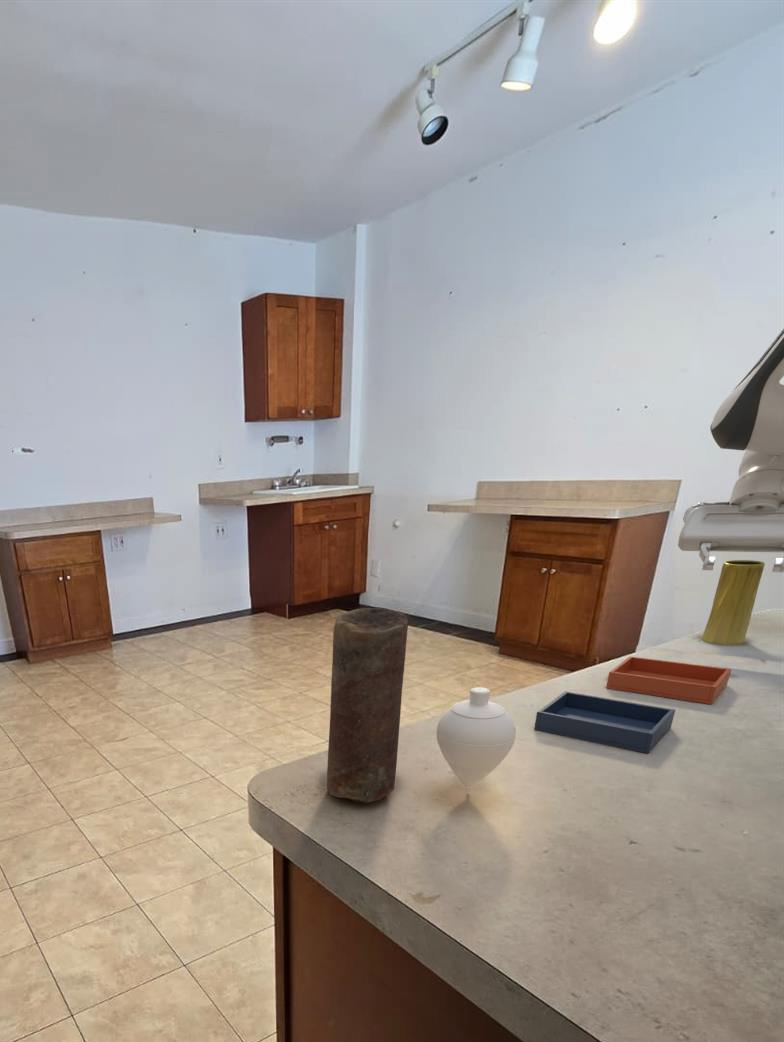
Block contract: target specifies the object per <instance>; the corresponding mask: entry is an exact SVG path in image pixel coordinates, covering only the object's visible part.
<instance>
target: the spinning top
mask: <svg viewBox="0 0 784 1042" xmlns="http://www.w3.org/2000/svg"><path fill="white" fill-rule="evenodd" d="M490 696H491V690H490V689H489V688H486V687H481V686H477V687H472V688H470V690H469V699H466V700H462V701H459V702H456V703H454V704H453V705H451V707H450V708H449V709H447V710H446V711H445V712H444V713H443V715H442V716H441V717H440V719H439V721H438V722H437V726H436V731H435V732H436V741H437V744H438V748H439V750H440V752H441V753H442V756H443V758H444V760H445V761H446V763H447V764H448V766H449V768H450V769H451V770H452V773H454V775H455V776H456V777H457V778H458V780H459V781H460V783H462V785H463V786H465V787H466V791H465V793H466V795H467V794H468V795H470V794H471V788H473V787H475V786H477V785H478V784H479V783H481V782H483V780H484V779H485V778H486V777H488V776H489V775H490V774H491V773H492V772H493V771H495V770H496V769H497V767H498V766H499V765H500V764H501V763H502V762H503V761H504V760H505V758H506V757H507V756H508V755H509V753H510V752H511V750H512V749H513V746H514V745H515V741H516V737H517V730H516V725H515V723H514V720H513V718H512V717H511V715H510V714H509V713H508V712H507V711H506V708H505V707H503V706H502V705H500V704H499V703H496V702H493V701H491V700H489V699H490Z"/></svg>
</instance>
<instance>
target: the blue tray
mask: <svg viewBox="0 0 784 1042" xmlns="http://www.w3.org/2000/svg"><path fill="white" fill-rule="evenodd" d="M675 713H676V709H673V708H666V707H662V706H655V705H649V704H644V703H638V702H631V701H626V700H625V701H624V700H618V699H614V698H607V697H601V696H597V695H596V696H595V695H590V694H583V693H578V692H571V691H564V692H562V693H561V694H559V695H558V696H557V697H555V698H554V699H553V700H551V701H550V702H549V703H547V704H546V705H544V706H543V707H542V708H540V709H539V710H538V711H536V715H535V722H534V730H535V731H539V732H545V733H549V734H553V735H558V736H564V737H567V738H572V739H577V740H582V741H587V742H591V743H596V744H601V745H606V746H611V747H616V748H621V749H624V750H630V751H634V752H639V753H644V754H650V752H651V751H652V750H653V749H654V748H655V746H656V745H657V744H658V743H659V742H660V741H661V740H662V739H663V737H664V736H665V735H666V734H667V733H668V732H669V730H671V728H672V724H673V721H674V717H675Z"/></svg>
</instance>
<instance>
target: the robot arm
mask: <svg viewBox="0 0 784 1042" xmlns="http://www.w3.org/2000/svg"><path fill="white" fill-rule="evenodd" d="M783 378H784V328H783V329H782V330H781V331H780V332H779V334H778V335H777V336H776V338H775V339H774V340H773V341H772V343H771V344H770V346H769V347H768V348H767V349H766V350H765V352H764V353H763V354H762V355H761V357H760V358H759V360H758V361H757V362H756V363H755V364H754V366H753V367H752V368H751V369H750V371H749V372H748V373H747V374H746V375H745V376H744V378H743V379H741V381H740V382H739V383H738V384H737V385H736V387H735V388H734V389H733V390H732V391H731V393H730V394H729V395H727V396H726V398H725V399H724V400H723V402H722V403H721V404H720V405H719V407H718V409H717V410H716V412H715V414H714V416H713V419H712V422H711V424H710V433H711V436H712V438H713V440H714V442H715V443H716V445H717V446H718V447H719V448H720V449H723V450H734V451H744V453H743V456H742V458H741V461H740V464H739V467H738V479H737V480H736V482H735V483H734V485H733V488H732V491H731V495H730V498H729V500H728V501H718V502H717V501H716V502H698V503H697V504H695V505H691V506H690V507H687V509H685V512H684V514H683V518H682V519H683V523H684V524H683V525H682V527H681V530H680V533H679V537H678V542H677V547H678V549H679V550H680V551H682V552H699V553H698V556H699V558H700V559H701V561H702V568H701V570H702V571H713V569H714V566H715V562H716V558H717V556H711V555H710V552H720V553H721V552H722V553H723V552H725V553H727V552H728V553H731V552H732V553H784V384H782V383H780V381H781V380H782V379H783ZM772 567H773V568H772V570H771V573H781V574H782V573H784V556H783V557H775V561H774V563H773V566H772Z"/></svg>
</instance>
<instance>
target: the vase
mask: <svg viewBox="0 0 784 1042" xmlns="http://www.w3.org/2000/svg"><path fill="white" fill-rule="evenodd" d="M765 565H766V563H765V562H764V561H761V560H752V559H751V560H749V559H734V560H732V559H731V560H725V561H724V562H723V564H722V568H721V570H720V574H719V578H718V583H717V586H716V589H715V594H714V598H713V602H712V606H711V610H710V613H709V616H708V619H707V623H706V625H705V628H704V631H703V634H702V636H701V640H702V641H703V642H707V643H710V644H718V645H726V646H728V645H735V646H736V645H740V644H744V643H745V641H746V635H747V632H748V629H749V625H750V622H751V618H752V613H753V610H754V606H755V602H756V599H757V594H758V590H759V586H760V584H761V583H760V582H761V580H762V579H761V578H762V575H763V572H764V569H765Z"/></svg>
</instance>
